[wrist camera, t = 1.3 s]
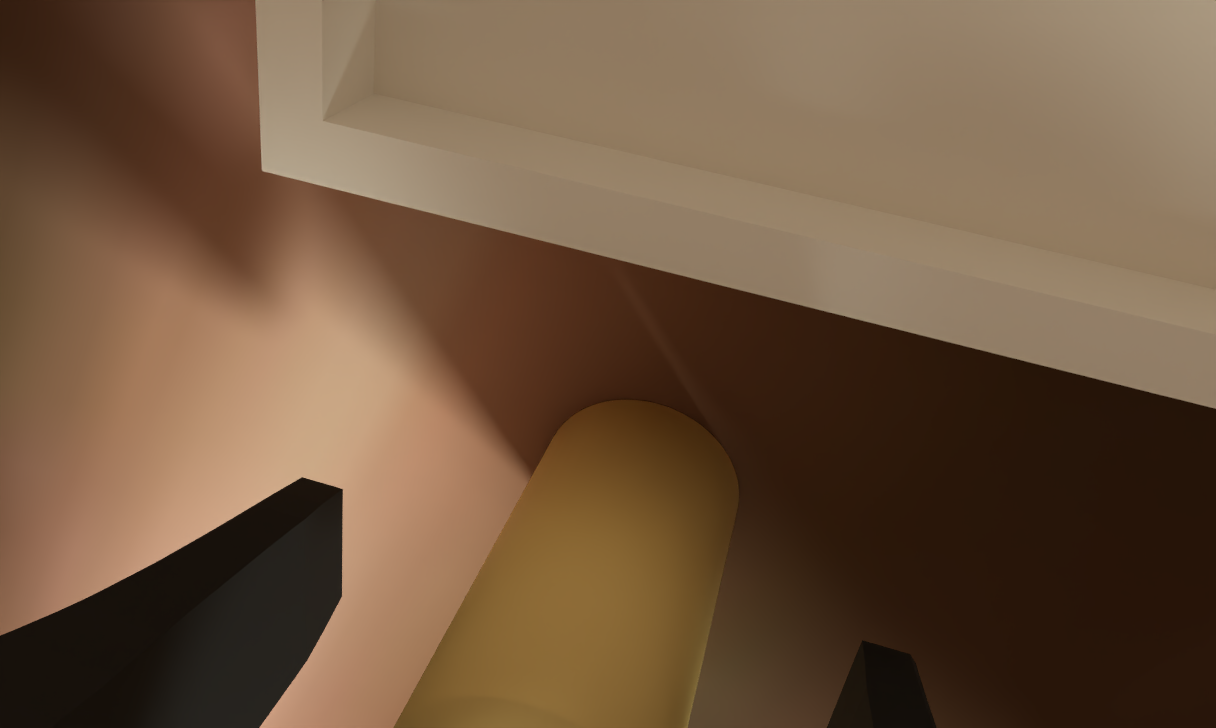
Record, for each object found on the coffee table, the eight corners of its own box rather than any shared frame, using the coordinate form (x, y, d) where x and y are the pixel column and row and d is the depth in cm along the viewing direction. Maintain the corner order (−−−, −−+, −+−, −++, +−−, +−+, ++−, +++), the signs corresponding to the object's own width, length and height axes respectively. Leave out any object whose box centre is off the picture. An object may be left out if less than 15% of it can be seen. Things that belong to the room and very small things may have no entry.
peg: (759, 430, 15) (687, 754, 10) (716, 585, 16) (635, 929, 11) (557, 376, 15) (387, 659, 10) (535, 532, 17) (380, 841, 12)
